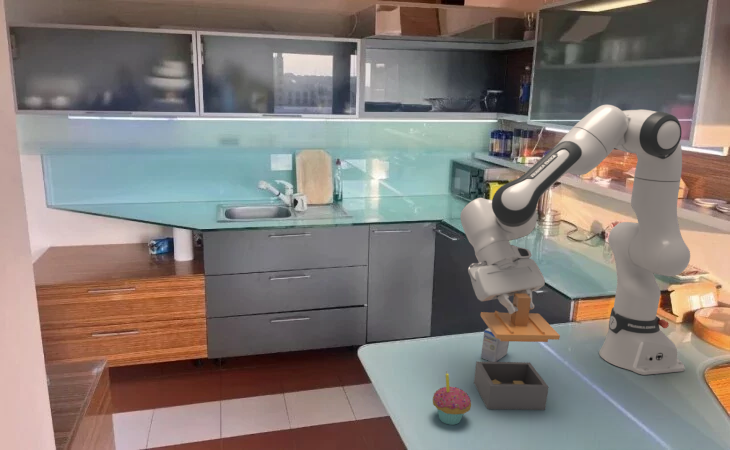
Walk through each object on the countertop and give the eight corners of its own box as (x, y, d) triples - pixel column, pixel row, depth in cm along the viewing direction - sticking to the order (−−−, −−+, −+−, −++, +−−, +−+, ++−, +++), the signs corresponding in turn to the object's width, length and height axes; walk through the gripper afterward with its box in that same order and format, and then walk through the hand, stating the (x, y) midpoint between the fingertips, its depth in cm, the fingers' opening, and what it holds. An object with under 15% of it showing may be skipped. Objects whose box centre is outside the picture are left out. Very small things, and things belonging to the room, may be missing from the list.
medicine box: (493, 349, 165) (496, 321, 163) (507, 354, 162) (511, 326, 160) (480, 358, 159) (483, 329, 157) (494, 363, 156) (498, 334, 154)
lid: (537, 322, 143) (542, 287, 141) (558, 345, 131) (564, 306, 128) (479, 321, 141) (483, 285, 139) (495, 344, 129) (500, 305, 127)
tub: (526, 383, 146) (530, 362, 145) (545, 409, 135) (548, 386, 133) (473, 382, 145) (476, 361, 144) (487, 409, 134) (490, 386, 132)
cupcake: (439, 431, 124) (445, 381, 121) (424, 410, 131) (429, 362, 129) (475, 427, 126) (481, 378, 123) (458, 406, 134) (464, 359, 131)
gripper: (472, 258, 132) (498, 312, 126) (534, 249, 143) (560, 299, 137) (458, 270, 137) (482, 323, 131) (518, 261, 147) (543, 309, 142)
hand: (522, 311), depth 134 cm, fingers closed on lid, 4 cm apart
